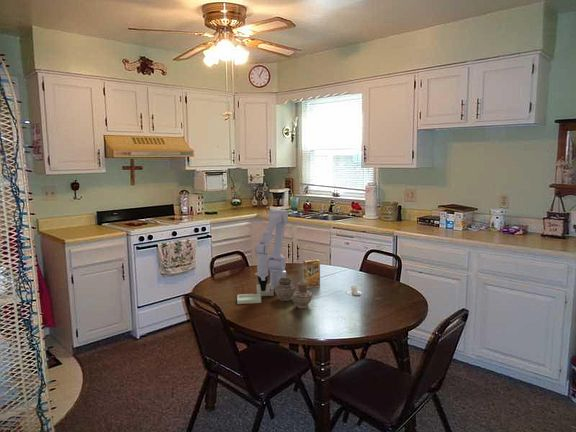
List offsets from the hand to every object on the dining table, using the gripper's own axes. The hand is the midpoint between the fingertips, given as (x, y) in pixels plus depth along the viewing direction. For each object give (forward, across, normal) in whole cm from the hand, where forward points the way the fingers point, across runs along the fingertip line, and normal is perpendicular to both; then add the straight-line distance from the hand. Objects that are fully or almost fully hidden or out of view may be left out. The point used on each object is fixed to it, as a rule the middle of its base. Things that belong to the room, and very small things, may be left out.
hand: (263, 289), depth 231 cm
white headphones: (+3, +6, +47) cm, 47 cm away
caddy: (+2, 0, 0) cm, 2 cm away
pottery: (+3, +15, +15) cm, 21 cm away
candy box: (+3, -10, +28) cm, 30 cm away
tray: (+2, +9, -8) cm, 12 cm away
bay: (+2, 0, 0) cm, 2 cm away
